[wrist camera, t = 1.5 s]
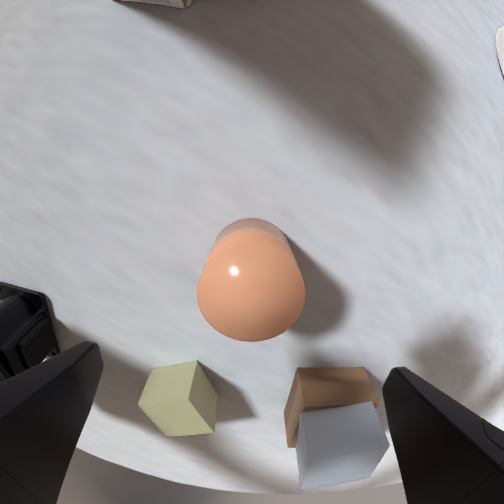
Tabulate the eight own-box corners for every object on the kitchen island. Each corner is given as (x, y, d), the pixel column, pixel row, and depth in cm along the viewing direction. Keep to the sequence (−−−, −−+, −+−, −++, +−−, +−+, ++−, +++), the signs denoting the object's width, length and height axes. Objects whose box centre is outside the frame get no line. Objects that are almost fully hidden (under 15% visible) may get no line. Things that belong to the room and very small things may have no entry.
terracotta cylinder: (210, 288, 17) (196, 335, 12) (215, 214, 16) (199, 240, 11) (284, 295, 17) (295, 344, 13) (296, 223, 16) (315, 252, 11)
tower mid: (295, 447, 18) (300, 489, 14) (300, 411, 16) (308, 461, 12) (357, 438, 17) (369, 477, 14) (372, 401, 16) (389, 445, 12)
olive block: (175, 400, 21) (166, 436, 17) (152, 368, 20) (137, 404, 16) (218, 394, 20) (214, 432, 17) (197, 359, 19) (188, 399, 15)
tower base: (283, 410, 21) (287, 447, 18) (296, 366, 19) (304, 406, 16) (342, 409, 22) (353, 443, 18) (363, 366, 20) (379, 401, 16)
